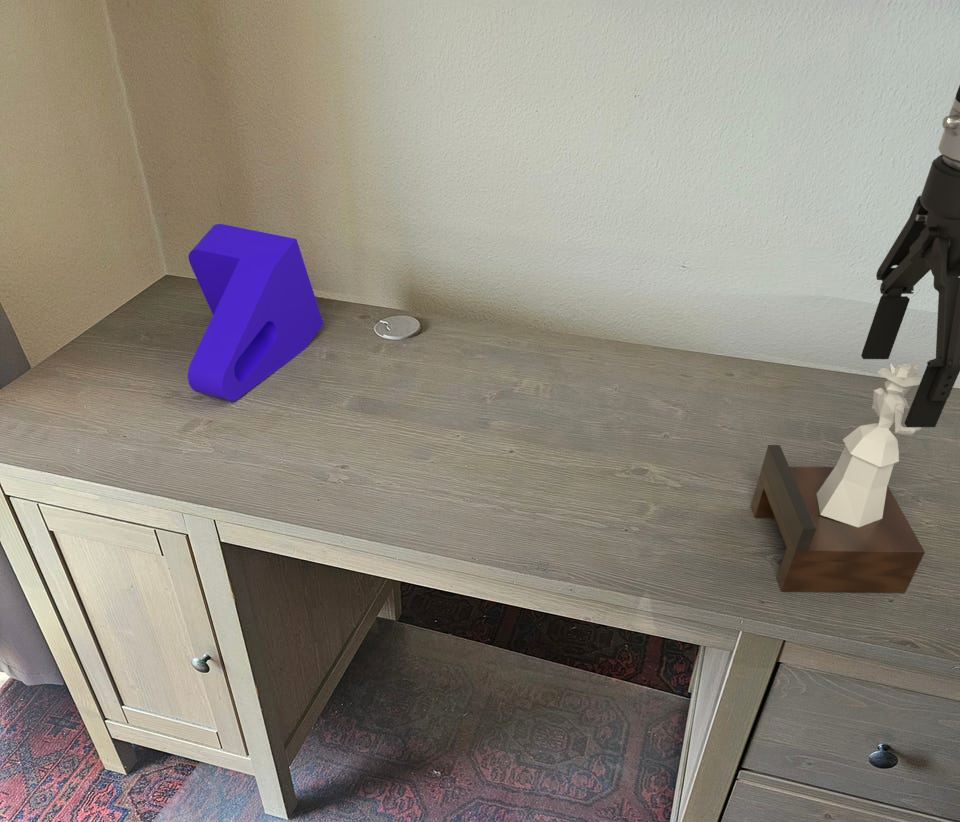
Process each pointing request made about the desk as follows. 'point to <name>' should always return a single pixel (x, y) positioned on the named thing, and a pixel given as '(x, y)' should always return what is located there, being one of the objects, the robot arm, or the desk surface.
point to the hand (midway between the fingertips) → (895, 389)
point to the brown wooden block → (832, 536)
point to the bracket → (250, 309)
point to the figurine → (869, 455)
